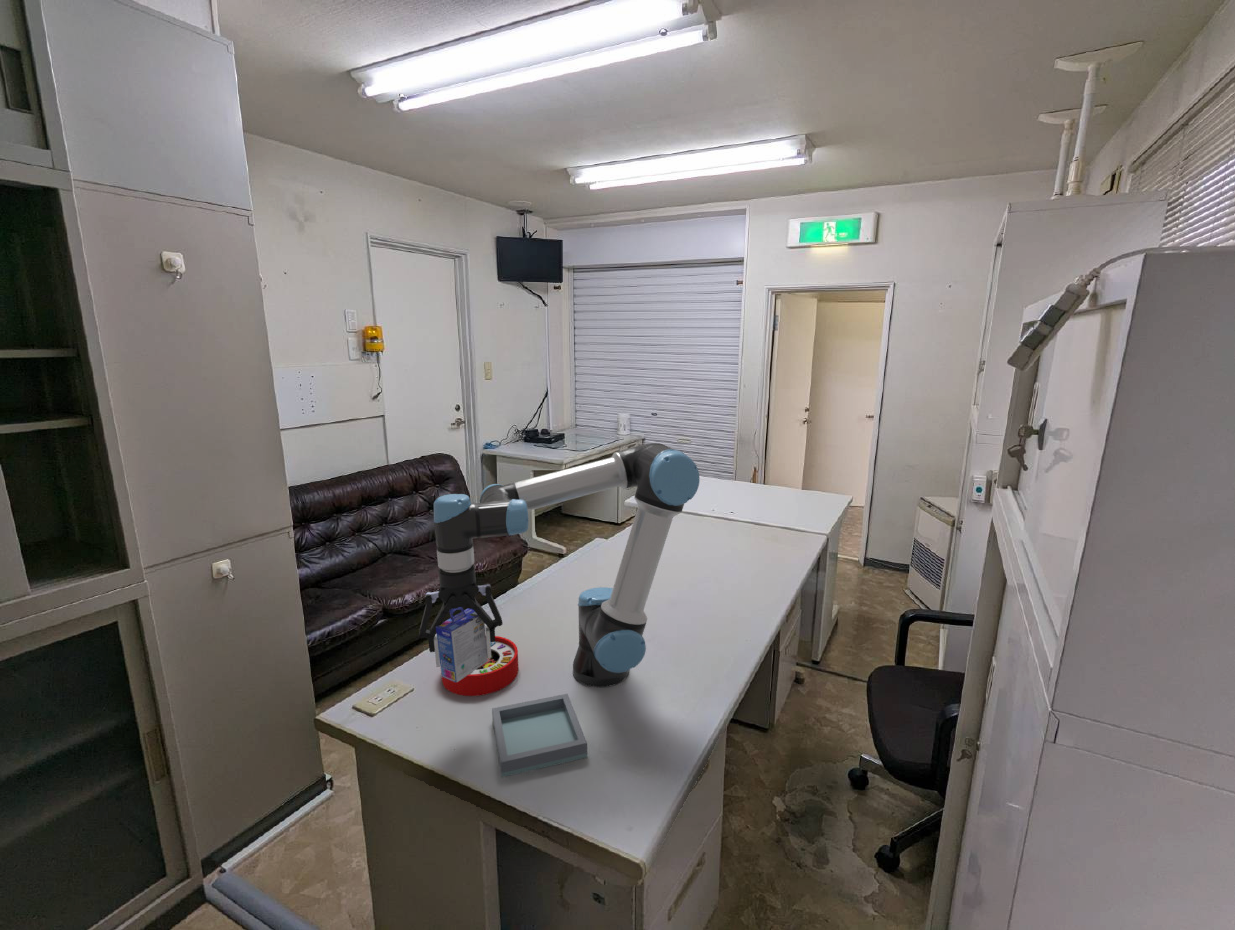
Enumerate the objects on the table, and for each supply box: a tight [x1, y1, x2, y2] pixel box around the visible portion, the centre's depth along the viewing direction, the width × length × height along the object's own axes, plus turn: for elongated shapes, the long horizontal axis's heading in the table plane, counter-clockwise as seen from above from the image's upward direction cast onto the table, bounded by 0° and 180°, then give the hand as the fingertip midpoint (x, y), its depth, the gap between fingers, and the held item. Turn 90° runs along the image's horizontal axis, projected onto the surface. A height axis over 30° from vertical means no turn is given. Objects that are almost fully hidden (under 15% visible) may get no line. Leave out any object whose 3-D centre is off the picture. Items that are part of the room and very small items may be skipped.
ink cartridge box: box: [436, 607, 488, 682], centre depth 121 cm, size 10×6×14 cm, turn 150°
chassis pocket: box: [491, 693, 588, 778], centre depth 122 cm, size 18×18×4 cm
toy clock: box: [441, 635, 519, 697], centre depth 146 cm, size 20×6×20 cm
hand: (464, 659), depth 122 cm, fingers closed on ink cartridge box, 10 cm apart
